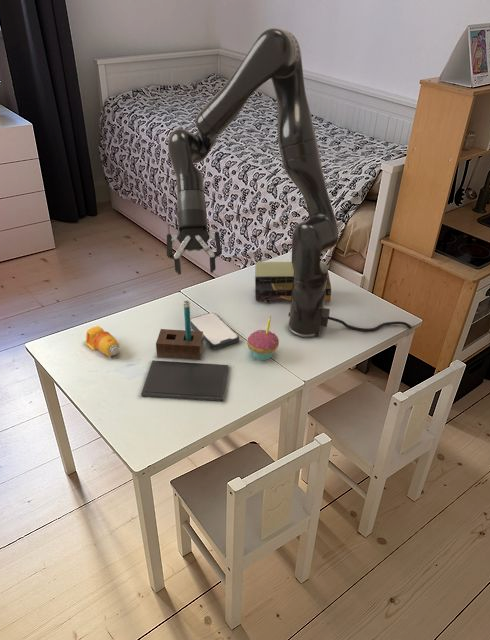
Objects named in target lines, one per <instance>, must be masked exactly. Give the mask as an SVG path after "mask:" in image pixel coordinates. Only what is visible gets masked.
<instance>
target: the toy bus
mask: <svg viewBox="0 0 490 640" xmlns="http://www.w3.org/2000/svg"><path fill="white" fill-rule="evenodd" d="M321 262H322V263H324V264H325V265H326V266H327V263H326V261H321ZM254 266H255V267H254V270H255V272H254V273H255V274H254V289H255V291H254V293H255V301H256V302H264V303H265V304H269V303H271V302H291V297H292V285H293V274H294V270H293V267H292V261H256V262H255V265H254ZM331 297H332V286H331V280H330V275H329V273H328V276H327V283H326V291H325V302H331Z"/></svg>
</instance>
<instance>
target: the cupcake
mask: <svg viewBox="0 0 490 640" xmlns="http://www.w3.org/2000/svg"><path fill="white" fill-rule="evenodd" d="M271 318H272V315H270V316H269V318H268V320H267V324H266V329H259V330H256V331H254V332H252V333H250V335H249V336H248V337H247V341H246V345H247V348H248V349H249V350H251V351H252V354H253V357H254V358H255V359H256V360H259V361H267V360H269V359H270V358H271V357H272V355H273V353H274V352H275V351H276V350H277V349H278V348H279V345H280V340H279V337H278V335H277V334H276V332H275V333H274V332H272V331H270V327H271V322H272V319H271Z"/></svg>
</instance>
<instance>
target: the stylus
mask: <svg viewBox="0 0 490 640" xmlns="http://www.w3.org/2000/svg"><path fill="white" fill-rule="evenodd" d="M190 304H191V303H190V300H184V301H183V313H184V314H183V316H184V330H185V334H186V341H192V340H191V331H192V326H191V321H190V319H191V305H190Z"/></svg>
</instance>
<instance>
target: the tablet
mask: <svg viewBox="0 0 490 640" xmlns="http://www.w3.org/2000/svg"><path fill="white" fill-rule="evenodd" d="M228 369H229V365H228V364H219V363H218V364H217V363H203V362H202V363H200V362H184V361H169V360H151V363H150V367H149V369H148V372H147V376H146V377H145V381H144V385H143V387H142V391H141V393H140V394H141V397H147V398H161V399H162V398H164V399H177V400H178V399H179V400H193V401H194V400H195V401H212V402H223V401H224V397H225V396H224V395H225V389H226V383H227V376H228Z"/></svg>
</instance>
